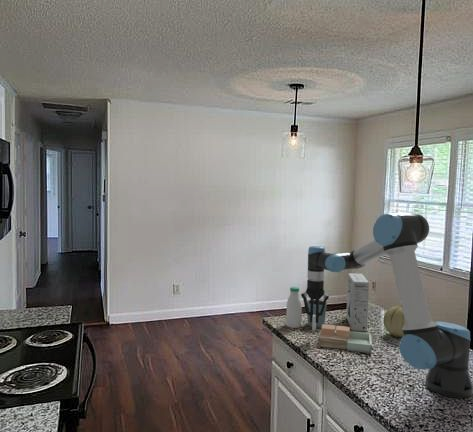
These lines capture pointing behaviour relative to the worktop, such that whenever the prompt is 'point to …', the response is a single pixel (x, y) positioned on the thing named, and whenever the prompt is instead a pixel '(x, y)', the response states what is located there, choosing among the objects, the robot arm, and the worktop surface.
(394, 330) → the cantaloupe
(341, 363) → the worktop surface
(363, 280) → the cereal box
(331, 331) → the tile
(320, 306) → the grey-blue hollow tapered cylinder
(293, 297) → the milk bottle
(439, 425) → the worktop surface
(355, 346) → the tray
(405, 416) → the worktop surface
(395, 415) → the worktop surface
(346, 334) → the tile
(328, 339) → the board
